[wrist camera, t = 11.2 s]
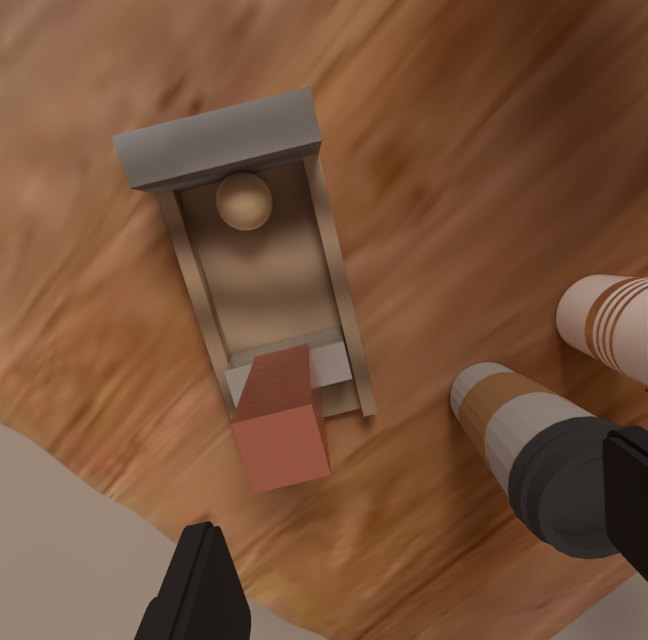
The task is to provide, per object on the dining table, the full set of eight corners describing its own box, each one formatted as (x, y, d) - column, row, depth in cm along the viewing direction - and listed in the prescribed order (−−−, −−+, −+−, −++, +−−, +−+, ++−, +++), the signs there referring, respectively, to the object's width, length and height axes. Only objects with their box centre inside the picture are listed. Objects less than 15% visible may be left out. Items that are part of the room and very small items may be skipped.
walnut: (219, 194, 30) (202, 169, 26) (269, 181, 30) (260, 155, 26) (230, 243, 30) (214, 225, 26) (281, 230, 30) (273, 210, 26)
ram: (231, 348, 32) (179, 436, 19) (337, 322, 32) (362, 391, 19) (245, 391, 33) (205, 505, 20) (347, 366, 33) (379, 463, 20)
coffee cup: (536, 411, 37) (689, 532, 22) (454, 446, 37) (552, 587, 23) (509, 334, 35) (658, 411, 20) (423, 372, 35) (509, 474, 21)
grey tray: (156, 157, 30) (111, 135, 23) (307, 119, 30) (309, 86, 23) (244, 430, 36) (230, 480, 29) (371, 399, 36) (388, 441, 29)
